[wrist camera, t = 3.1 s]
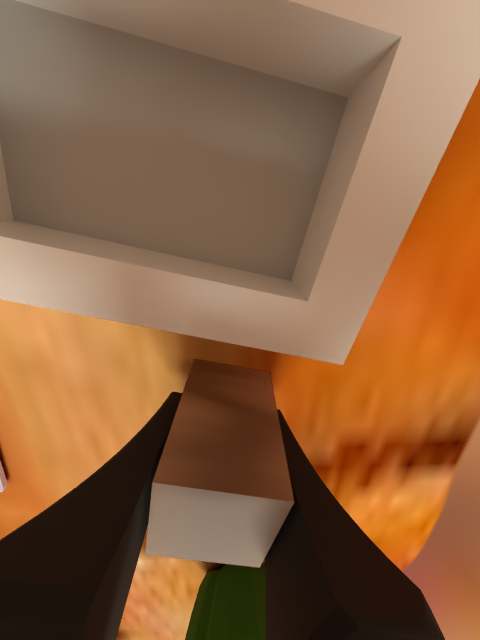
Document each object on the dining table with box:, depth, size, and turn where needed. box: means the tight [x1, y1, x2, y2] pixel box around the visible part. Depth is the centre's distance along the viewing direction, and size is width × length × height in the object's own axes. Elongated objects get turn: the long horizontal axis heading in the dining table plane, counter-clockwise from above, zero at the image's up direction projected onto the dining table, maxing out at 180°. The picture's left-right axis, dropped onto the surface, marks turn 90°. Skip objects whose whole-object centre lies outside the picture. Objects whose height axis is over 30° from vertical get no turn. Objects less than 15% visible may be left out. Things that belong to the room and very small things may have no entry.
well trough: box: [0, 0, 480, 365], centre depth 7 cm, size 15×10×3 cm, turn 78°
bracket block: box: [145, 359, 294, 568], centre depth 10 cm, size 4×4×6 cm
